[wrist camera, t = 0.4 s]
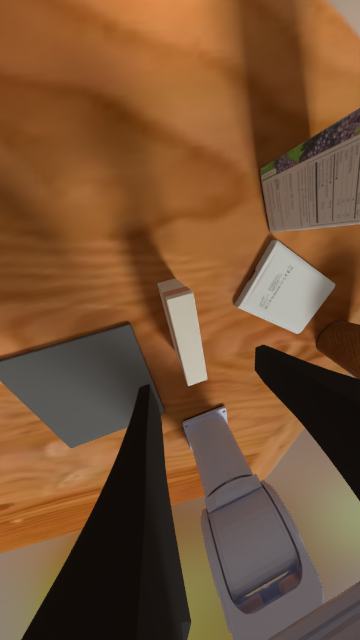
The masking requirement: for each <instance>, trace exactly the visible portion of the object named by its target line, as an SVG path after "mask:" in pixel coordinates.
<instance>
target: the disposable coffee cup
mask: <svg viewBox="0 0 360 640" xmlns="http://www.w3.org/2000/svg"><path fill="white" fill-rule="evenodd" d="M317 349H318V350H319V351H320V352H321V353H323V354H324V355H325V356H327V357H328V358H330V359H331V360H332V361H334V362H335V363H337V364H338V365H339V366H341V367H342V368H344V369H345V370H346V371H348V372H349V373H350V374H352V375H353V376H355V377H356V378H357V379H360V325H358V324H354V323H350V322H346V321H337V322H334V323H333V324H331V325H330V326H328V327H327V328H326V329H325V330H324V331H323V332H322V334H321V335H320V337H319V339H318V341H317Z"/></svg>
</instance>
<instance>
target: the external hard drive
mask: <svg viewBox="0 0 360 640" xmlns="http://www.w3.org/2000/svg"><path fill="white" fill-rule="evenodd" d="M334 288H335V283H333V282H332V281H331V280H329V279H328V278H327V277H325V276H324V275H323V274H321V273H320V272H319V271H317V270H316V269H315V268H313V267H312V266H311V265H309V264H308V263H307V262H305V261H304V260H303V259H301V258H300V257H299V256H297V255H296V254H295V253H293V252H292V251H291V250H289V249H288V248H287V247H285V246H284V245H283V244H281V243H280V242H279V241H278V240H271V242H270V244H269V246H268V247H267V249H266V251H265V252H264V254H263V256H262V258H261V259H260V261H259V263H258V265H257V266H256V268H255V273H254V274H253V276H252V278H251V279H250V280H249V281H248V282H247V284H246V285H245V287H244V289H243V291H242V292H241V294H240V296H239V298H238V299H237V301H236V303H235V304H234V306H236V307H238V308H240V309H242V310H244V311H246V312H249V313H251V314H253V315H255V316H258V317H260V318H262V319H264V320H267V321H269V322H271V323H273V324H276V325H278V326H280V327H283V328H285V329H287V330H289V331H292V332H294V333H296V334H299V333H300V332H301V331H302V330H303V329H304V328H305V326H306V325H307V324H308V322H309V321H310V320H311V318H312V317H313V316H314V314H315V313H316V312H317V310H318V309H319V308H320V307H321V305H322V304H323V302H324V301H325V300H326V299H327V297H328V296H329V295H330V293H331V292H332V291H333V289H334Z"/></svg>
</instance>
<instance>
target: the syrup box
mask: <svg viewBox="0 0 360 640" xmlns="http://www.w3.org/2000/svg"><path fill="white" fill-rule="evenodd" d="M260 175H261V182H262V188H263V194H264V200H265V206H266V212H267V217H268V223H269V229H270V232H282V231H293V230H303V229H315V228H324V227H336V226H346V225H356V224H360V108H359V109H357V110H356V111H354V112H352V113H351V114H349V115H347V116H346V117H344V118H343V119H341V120H339V121H338V122H336V123H335V124H333V125H331V126H330V127H328V128H326V129H325V130H323V131H322V132H320V133H318V134H317V135H315V136H313V137H312V138H310V139H309V140H307V141H305V142H304V143H302V144H300V145H299V146H297V147H295V148H294V149H292V150H290V151H289V152H287V153H286V154H284V155H282V156H281V157H279V158H277V159H276V160H274V161H272V162H271V163H269V164H268V165H266V166H264V167H262V168H261V170H260Z"/></svg>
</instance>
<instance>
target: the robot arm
mask: <svg viewBox="0 0 360 640" xmlns="http://www.w3.org/2000/svg"><path fill="white" fill-rule="evenodd" d="M255 371H256V372H257V374H258V375H259V376H260V378H261V379H262V380H263V382H264V383H265V384H266V385H267V386H268V387H269V389H270V390H271V391H272V392H273V393H274V394H275V395H276V396H277V397H278V398H279V399H280V400H281V401H282V402H283V403H284V404H285V405H286V407H287V408H288V409H289V410H290V411H291V412H292V413H293V414H294V415H295V416H296V417H297V418H298V420H299V421H300V422H301V423H302V424H303V426H304V427H305V428H306V429H307V430H308V432H309V433H310V434H311V435H312V437H313V438H314V439H315V440H316V442H317V443H318V444H319V445H320V447H321V448H322V450H323V451H324V452H325V453H326V455H327V456H328V457H329V459H330V460H331V461H332V463H333V464H334V465H335V467H336V468H337V470H338V471H339V472H340V474H341V475H342V476H343V478H344V479H345V481H346V482H347V483H348V485H349V486H350V487H351V489H352V490H353V492H354V493H355V495H356V496H357V498H358V499H359V501H360V379H357V378H353V377H350V376H347V375H344V374H340V373H337V372H334V371H331V370H328V369H325V368H322V367H319V366H317V365H314V364H311V363H309V362H306V361H303V360H301V359H298V358H296V357H293V356H291V355H288V354H286V353H283V352H281V351H278V350H276V349H274V348H271V347H268V346H266V345H261V346H258V347H256V349H255ZM182 424H183V427H184V430H185V433H186V436H187V439H188V442H189V445H190V449H191V451H193V453H194V457H195V461H196V464H197V468H198V471H199V475H200V479H201V482H202V486H203V490H204V493H205V497H206V498H205V503H206V506H207V508H206V509H203V510H202V516H201V527H202V533H203V538H204V543H205V547H206V551H207V556H208V560H209V564H210V568H211V572H212V576H213V579H214V583H215V586H216V589H217V593H218V595H219V597H220V600H221V604H222V608H223V611H224V615H225V619H226V623H227V627H228V630H229V632H230V633H231V634H232V636H233V640H360V581H359V582H358V583H356V584H355V585H353V586H351V587H350V588H348V589H347V590H345V591H344V592H342V593H340V594H339V595H337V596H336V597H334V598H333V599H331V600H329V601H328V602H326V603H324V590H323V586H322V584H321V582H320V578H319V575H318V573H317V571H316V569H315V567H314V565H313V563H312V561H311V559H310V557H309V555H308V553H307V551H306V548H305V546H304V543H303V541H302V538H301V536H300V533H299V531H298V529H297V527H296V525H295V523H294V521H293V519H292V517H291V515H290V513H289V511H288V510H287V508H286V507H285V505H284V503H283V501H282V500H281V498H280V497H279V495H278V494H277V492H276V491H275V489H274V488H273V487H272V486H271V485H270V484H268V483H266V482H265V481H264V480H262V481H261V482H260V481H259V479H258V477H257V475H256V474H254V475H253V473H252V471H251V469H250V467H249V465H248V463H247V461H246V460H245V458H244V456H243V454H242V452H241V450H240V448H239V446H238V444H237V442H236V440H235V438H234V436H233V434H232V432H231V430H230V428H229V426H228V423H227V413H226V407H225V406H222V407H219V408H217V409H214V410H211V411H209V412H206V413H204V414H201V415H199V416H196V417H193V418H191V419H188V420H186V421H184V422H183V423H182ZM287 571H288V572H287ZM285 572H287V573H286V574H285V575H284V576H282V577H281V578H279V579H277V580H275V581H273V582H272V583H270V584H268V585H267V586H265V587H263V588H261V589H260V590H258V591H256V592H254V593H253V594H251V595H249V596H245V595H247V594H249V593H250V592H252V591H254V590H256V589H257V588H259V587H261V586H263V585H264V584H266V583H268V582H269V581H271V580H273V579H275V578H276V577H278V576H280V575H282V574H283V573H285ZM190 625H191V619H190V613H189V608H188V602H187V597H186V591H185V586H184V580H183V575H182V569H181V563H180V558H179V552H178V546H177V541H176V535H175V529H174V523H173V517H172V510H171V504H170V497H169V491H168V485H167V478H166V469H165V457H164V444H163V432H162V422H161V416H160V411H159V405H158V403H157V400H156V398H155V395H154V393H153V390H152V388H151V386H150V384H147V385H145V386H142V387H140V388H139V389H138V394H137V398H136V402H135V406H134V409H133V413H132V416H131V419H130V422H129V425H128V428H127V431H126V434H125V437H124V439H123V442H122V445H121V447H120V450H119V453H118V455H117V458H116V460H115V462H114V465H113V467H112V469H111V472H110V474H109V476H108V478H107V481H106V483H105V485H104V487H103V489H102V491H101V493H100V496H99V498H98V500H97V502H96V504H95V506H94V508H93V510H92V512H91V514H90V516H89V518H88V520H87V522H86V524H85V526H84V528H83V529H82V531H81V534H80V535H79V537H78V539H77V541H76V543H75V545H74V547H73V549H72V550H71V552H70V554H69V556H68V558H67V560H66V562H65V563H64V566H63V567H62V569H61V571H60V573H59V574H58V576H57V578H56V580H55V582H54V583H53V585H52V587H51V588H50V590H49V592H48V594H47V596H46V597H45V599H44V601H43V602H42V604H41V606H40V608H39V609H38V611H37V613H36V615H35V616H34V618H33V620H32V622H31V623H30V625H29V627H28V629H27V630H26V632H25V634H24V636H23V638H22V639H21V640H187V638H188V634H189V630H190Z"/></svg>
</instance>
